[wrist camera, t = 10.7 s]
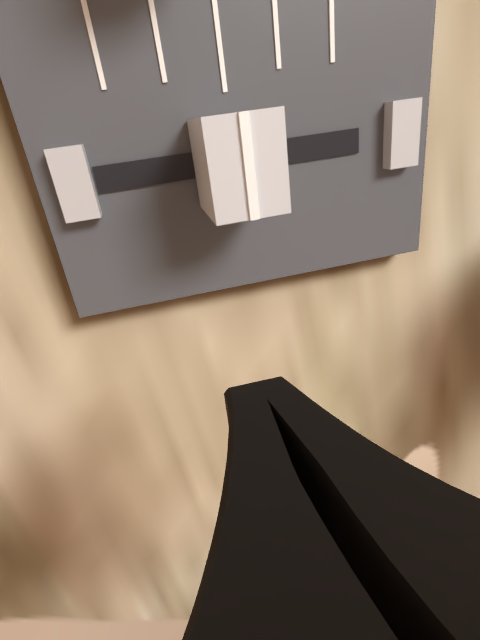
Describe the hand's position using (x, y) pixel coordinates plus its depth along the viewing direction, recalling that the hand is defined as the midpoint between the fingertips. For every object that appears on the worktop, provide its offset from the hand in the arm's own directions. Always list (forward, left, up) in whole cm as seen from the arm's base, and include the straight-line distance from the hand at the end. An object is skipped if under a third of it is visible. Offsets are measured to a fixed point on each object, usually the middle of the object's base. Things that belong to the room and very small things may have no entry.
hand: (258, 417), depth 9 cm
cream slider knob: (-2, -5, -9) cm, 10 cm away
